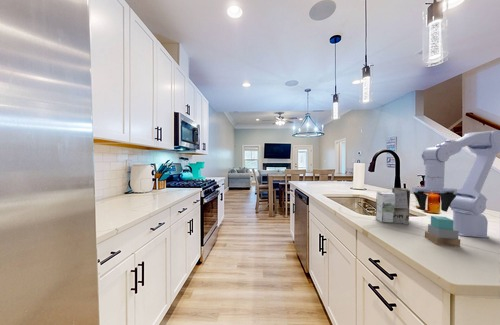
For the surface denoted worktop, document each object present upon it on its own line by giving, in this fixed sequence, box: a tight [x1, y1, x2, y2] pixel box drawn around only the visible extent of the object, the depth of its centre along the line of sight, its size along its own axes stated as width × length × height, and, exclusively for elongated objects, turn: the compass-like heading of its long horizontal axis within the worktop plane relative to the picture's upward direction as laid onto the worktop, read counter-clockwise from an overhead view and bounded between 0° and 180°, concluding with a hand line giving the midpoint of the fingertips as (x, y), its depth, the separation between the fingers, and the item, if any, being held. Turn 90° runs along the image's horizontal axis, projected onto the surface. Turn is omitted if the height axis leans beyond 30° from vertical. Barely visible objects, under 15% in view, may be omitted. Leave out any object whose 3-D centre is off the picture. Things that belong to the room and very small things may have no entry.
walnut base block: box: [424, 230, 461, 248], centre depth 76 cm, size 7×7×3 cm
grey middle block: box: [427, 223, 460, 239], centre depth 75 cm, size 6×6×3 cm
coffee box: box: [391, 187, 411, 225], centre depth 100 cm, size 9×6×16 cm
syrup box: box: [375, 191, 395, 224], centre depth 99 cm, size 6×6×14 cm
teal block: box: [430, 215, 454, 230], centre depth 75 cm, size 4×4×4 cm
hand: (433, 210), depth 81 cm, fingers open, 7 cm apart
